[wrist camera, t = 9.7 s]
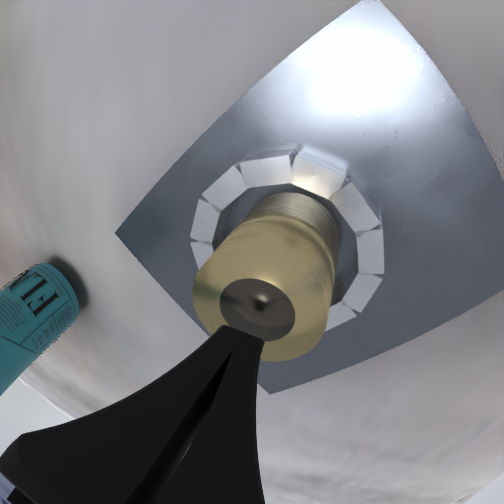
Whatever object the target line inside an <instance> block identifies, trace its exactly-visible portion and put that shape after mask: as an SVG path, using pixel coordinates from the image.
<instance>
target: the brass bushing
mask: <svg viewBox="0 0 504 504" xmlns="http://www.w3.org/2000/svg"><path fill="white" fill-rule="evenodd" d="M339 249H340V234H339V230H338V227H337V224H336V222H335V220H334V218H333V217H332V215H331V214H330V212H329V211H328V210H327V209H326V208H325V207H324V206H323V205H321V204H320V203H319V202H317V201H316V200H314V199H312V198H310V197H308V196H305V195H302V194H298V193H290V192H285V193H277V194H273V195H270V196H268V197H266V198H264V199H262V200H261V201H259V202H258V203H257V204H256V205H255V206H254V207H253V208H252V209H251V210H250V211H249V213H248V214H247V215H246V216H245V217H244V218H243V219H242V221H241V222H240V223H239V224H238V225H237V226H236V227H235V228H234V230H233V231H232V232H231V233H230V234H229V235H228V236H227V238H226V239H225V240H224V241H223V242H222V243H221V245H220V246H219V247H218V248H217V249H216V250H215V251H214V253H213V254H212V255H211V256H210V257H209V258H208V260H207V261H206V262H205V263H204V264H203V265H202V267H201V268H200V269H199V271H198V273H197V275H196V277H195V279H194V283H193V289H192V298H193V304H194V307H195V310H196V313H197V315H198V317H199V319H200V321H201V323H202V324H203V326H204V327H205V328H206V330H207V331H208V332H209V333H210V334H211V335H213V334H214V333H215V332H216V331H217V330H218V328H219V327H220V326H222V325H227V326H230V327H232V328H235V329H237V330H240V331H243V332H245V333H248V334H250V335H253V336H256V337H258V338H261V339H263V341H264V343H265V344H264V346H263V349H262V353H261V358H260V361H269V362H279V361H287V360H291V359H294V358H297V357H300V356H302V355H304V354H306V353H307V352H309V351H310V350H312V349H313V348H314V347H315V346H316V345H317V344H318V342H319V341H320V340H321V338H322V336H323V334H324V332H325V329H326V325H327V320H328V315H329V309H330V304H331V298H332V292H333V287H334V281H335V275H336V268H337V262H338V255H339Z"/></svg>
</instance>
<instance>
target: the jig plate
mask: <svg viewBox="0 0 504 504" xmlns="http://www.w3.org/2000/svg"><path fill="white" fill-rule="evenodd" d="M285 192H290V193H298V194H302V195H305V196H308V197H310V198H312V199H314V200H316V201H317V202H319V203H320V204H321V205H323V206H324V207H325V208H326V209H327V210H328V211H329V212H330V214H331V215H332V217H333V218H334V220H335V222H336V224H337V227H338V230H339V234H340V249H339V255H338V262H337V268H336V275H335V281H334V287H333V292H332V298H331V304H330V309H329V315H328V320H327V325H326V329H325V332H324V334H323V336H322V338H321V340H320V341H319V342H318V344H317V345H316V346H315V347H314V348H313V349H312V350H310V351H309V352H307V353H306V354H304V355H302V356H300V357H297V358H294V359H291V360H287V361H279V362H269V361H260V363H259V370H258V378H257V383H258V384H259V385H260V386H261V387H262V388H263V389H265V390H266V391H267V392H268V393H269V394H273V393H276V392H280V391H283V390H286V389H289V388H292V387H295V386H298V385H301V384H304V383H307V382H310V381H312V380H315V379H318V378H321V377H324V376H326V375H329V374H332V373H334V372H337V371H339V370H342V369H345V368H347V367H350V366H352V365H355V364H357V363H360V362H362V361H364V360H367V359H369V358H372V357H374V356H376V355H379V354H381V353H383V352H385V351H388V350H390V349H392V348H394V347H397V346H399V345H401V344H403V343H405V342H407V341H409V340H412V339H414V338H416V337H418V336H420V335H422V334H424V333H426V332H428V331H430V330H432V329H434V328H436V327H438V326H440V325H442V324H444V323H446V322H447V321H449V320H451V319H453V318H455V317H457V316H459V315H460V314H462V313H464V312H466V311H468V310H469V309H471V308H473V307H475V306H476V305H478V304H480V303H481V302H483V301H485V300H487V299H488V298H490V297H492V296H493V295H495V294H496V293H498V292H500V291H501V290H503V289H504V182H503V180H502V177H501V175H500V173H499V171H498V169H497V167H496V165H495V163H494V161H493V159H492V157H491V155H490V153H489V151H488V149H487V147H486V145H485V143H484V141H483V139H482V138H481V136H480V134H479V132H478V130H477V129H476V127H475V125H474V123H473V122H472V120H471V118H470V117H469V115H468V113H467V112H466V110H465V109H464V107H463V105H462V104H461V102H460V101H459V99H458V98H457V96H456V94H455V93H454V91H453V90H452V88H451V87H450V86H449V84H448V83H447V81H446V80H445V78H444V77H443V75H442V74H441V73H440V71H439V70H438V69H437V67H436V66H435V65H434V63H433V62H432V61H431V59H430V58H429V57H428V55H427V54H426V53H425V51H424V50H423V49H422V48H421V46H420V45H419V44H418V43H417V42H416V40H415V39H414V38H413V37H412V36H411V34H410V33H409V32H408V31H407V30H406V29H405V27H404V26H403V25H402V24H401V23H400V22H399V21H398V20H397V18H396V17H395V16H394V15H393V14H392V13H391V12H390V11H389V10H388V9H387V8H386V7H385V6H384V5H383V4H382V3H381V2H380V1H379V0H362V1H361V2H359V3H358V4H356V5H355V6H353V7H352V8H351V9H349V10H348V11H346V12H345V13H343V14H342V15H341V16H339V17H338V18H337V19H335V20H334V21H332V22H331V23H330V24H328V25H327V26H326V27H324V28H323V29H322V30H320V31H319V32H318V33H317V34H315V35H314V36H313V37H311V38H310V39H309V40H308V41H306V42H305V43H304V44H303V45H301V46H300V47H299V48H298V49H296V50H295V51H294V52H293V53H291V54H290V55H289V56H288V57H287V58H285V59H284V60H283V61H282V62H281V63H279V64H278V65H277V66H276V67H275V68H274V69H272V70H271V71H270V72H269V73H268V74H267V75H265V76H264V77H263V78H262V79H261V80H260V81H259V82H257V83H256V84H255V85H254V86H253V87H252V88H251V89H250V90H249V91H247V92H246V93H245V94H244V95H243V96H242V97H241V98H240V99H239V100H238V101H237V102H236V103H234V104H233V105H232V106H231V107H230V108H229V109H228V110H227V111H226V112H225V113H224V114H223V115H222V116H221V117H220V118H219V119H218V120H217V121H216V122H215V123H214V124H213V125H212V126H211V127H210V128H209V129H208V130H207V131H206V132H205V133H204V134H203V135H202V136H201V137H200V138H199V139H198V140H197V141H196V142H195V143H194V144H193V145H192V146H191V147H190V148H189V149H188V150H187V151H186V152H185V153H184V154H183V155H182V156H181V157H180V158H179V160H178V161H177V162H176V163H175V164H174V165H173V166H172V167H171V168H170V169H169V170H168V171H167V172H166V174H165V175H164V176H163V177H162V178H161V179H160V180H159V181H158V182H157V184H156V185H155V186H154V187H153V188H152V189H151V190H150V192H149V193H148V194H147V195H146V196H145V197H144V198H143V200H142V201H141V202H140V203H139V204H138V205H137V207H136V208H135V209H134V210H133V211H132V213H131V214H130V215H129V216H128V217H127V219H126V220H125V221H124V222H123V223H122V225H121V226H120V227H119V228H118V230H117V231H116V232H115V234H116V235H117V236H118V237H119V238H120V240H121V241H122V242H123V243H124V244H125V246H126V247H127V248H128V249H129V250H130V251H131V253H132V254H133V255H134V256H135V257H136V258H137V259H138V261H139V262H140V263H141V264H142V265H143V266H144V267H145V269H146V270H147V271H148V272H149V273H150V274H151V275H152V276H153V278H154V279H155V280H156V281H157V282H158V283H159V284H160V285H161V286H162V287H163V289H164V290H165V291H166V292H167V293H168V294H169V295H170V296H171V297H172V298H173V299H174V300H175V301H176V303H177V304H178V305H179V306H180V307H181V308H182V309H183V310H184V311H185V312H186V313H187V314H188V315H189V316H190V317H191V318H192V319H193V320H194V321H195V322H196V323H197V325H198V326H199V327H200V328H201V329H202V330H203V331H204V332H205V333H206V334H207V335H208V336H209V337H211V336H212V335H211V334H210V333H209V332H208V331H207V330H206V328H205V327H204V326H203V324H202V323H201V321H200V319H199V317H198V315H197V313H196V310H195V307H194V304H193V298H192V289H193V283H194V279H195V277H196V275H197V273H198V271H199V269H200V268H201V267H202V265H203V264H204V263H205V262H206V261H207V260H208V258H209V257H210V256H211V255H212V254H213V253H214V251H215V250H216V249H217V248H218V247H219V246H220V245H221V243H222V242H223V241H224V240H225V239H226V238H227V236H228V235H229V234H230V233H231V232H232V231H233V230H234V228H235V227H236V226H237V225H238V224H239V223H240V222H241V221H242V219H243V218H244V217H245V216H246V215H247V214H248V213H249V211H250V210H251V209H252V208H253V207H254V206H255V205H256V204H257V203H258V202H259V201H261V200H262V199H264V198H266V197H268V196H270V195H273V194H277V193H285Z"/></svg>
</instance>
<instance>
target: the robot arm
mask: <svg viewBox="0 0 504 504" xmlns="http://www.w3.org/2000/svg"><path fill="white" fill-rule="evenodd" d="M264 344H265V343H264V341H263V339H261V338H258V337H256V336H253V335H250V334H248V333H245V332H243V331H240V330H237V329H235V328H232V327H230V326H227V325H222V326H220V327H219V328H218V330H217V331H216V332H215V333H214V334H213V335H212V336H211V337H210V338H209V339H208V340H207V341H205V342H204V343H203V344H202V345H201V346H200V347H199V348H198V349H196V350H195V351H194V352H193V353H192V354H190V355H189V356H188V357H187V358H185V359H184V360H183V361H182V362H180V363H179V364H178V365H176V366H175V367H174V368H172V369H171V370H169V371H168V372H167V373H165V374H164V375H162V376H161V377H159V378H158V379H156V380H155V381H153V382H152V383H150V384H149V385H147V386H145V387H144V388H142V389H140V390H139V391H137V392H135V393H133V394H132V395H130V396H128V397H126V398H124V399H122V400H120V401H118V402H116V403H114V404H112V405H110V406H108V407H106V408H103V409H101V410H99V411H96V412H94V413H92V414H89V415H86V416H84V417H81V418H78V419H75V420H72V421H70V422H67V423H64V424H60V425H57V426H53V427H49V428H45V429H42V430H37V431H33V432H28V433H25V434H21V435H20V436H19V437H18V438H17V439H16V440H15V441H14V442H13V443H12V444H11V445H10V446H9V447H8V448H7V449H6V451H5V452H4V453H3V454H2V455H1V457H0V504H265V501H264V495H263V489H262V484H261V478H260V470H259V462H258V451H257V437H256V393H257V378H258V370H259V363H260V358H261V353H262V349H263V346H264ZM189 446H190V447H189ZM188 448H189V449H188ZM186 451H187V452H186ZM185 453H186V454H185ZM184 455H185V456H184ZM181 460H182V461H181Z"/></svg>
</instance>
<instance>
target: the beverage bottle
mask: <svg viewBox="0 0 504 504" xmlns="http://www.w3.org/2000/svg"><path fill="white" fill-rule="evenodd" d="M34 265H35V266H33V267H30V268H31V269H30V268H29V269H30V270H27V271H26V270H25V273H24V274H23V273H21V274H20V275H22V274H23V275H22V276H20V275H18V276H20V277H19V278H18V279H16V280H14V281H13V282H12V283H11V284H10V285H8V286H7V287H6V288H5V289H3V290H2V289H1V290H2V291H1V290H0V291H1V292H0V396H1V395H2V394H3V393H4V391H5V390H6V389H7V388H8V387H9V386H10V385H11V384H12V383H13V382H14V381H15V380H16V379H17V378H18V376H19V375H20V374H21V373H22V372H23V371H24V370H25V369H26V368H27V367H28V366H30V364H31V363H32V362H33V361H34V360H35V359H37V357H39V356H40V355H41V354H42V353H43V352H44V351H45V350H46V349H47V348H48V347H49V346H50V345H51V344H52V343H54V341H55V340H56V339H57V338H58V337H60V335H61V334H62V333H64V331H65V330H66V329H67V328H68V327H71V326H70V325H71V324H72V323H73V322H74V321H75V320H76V318H77V316H78V314H79V303H78V300H77V297H76V295H75V292H74V291H73V289H72V287H71V285H70V284H69V282H68V281H67V279H66V278H65V277H64V276H63V275H62V273H61V272H60V271H58V270H57V269H56V268H55V267H53V266H52V265H50V264H47V263H40V264H34ZM18 276H17V277H18ZM17 277H16V278H17ZM14 279H15V278H14ZM10 282H11V281H10ZM10 282H9V283H10ZM5 286H6V285H5ZM5 286H4V287H5ZM4 287H3V288H4ZM57 340H58V339H57ZM31 365H32V364H31Z"/></svg>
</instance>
